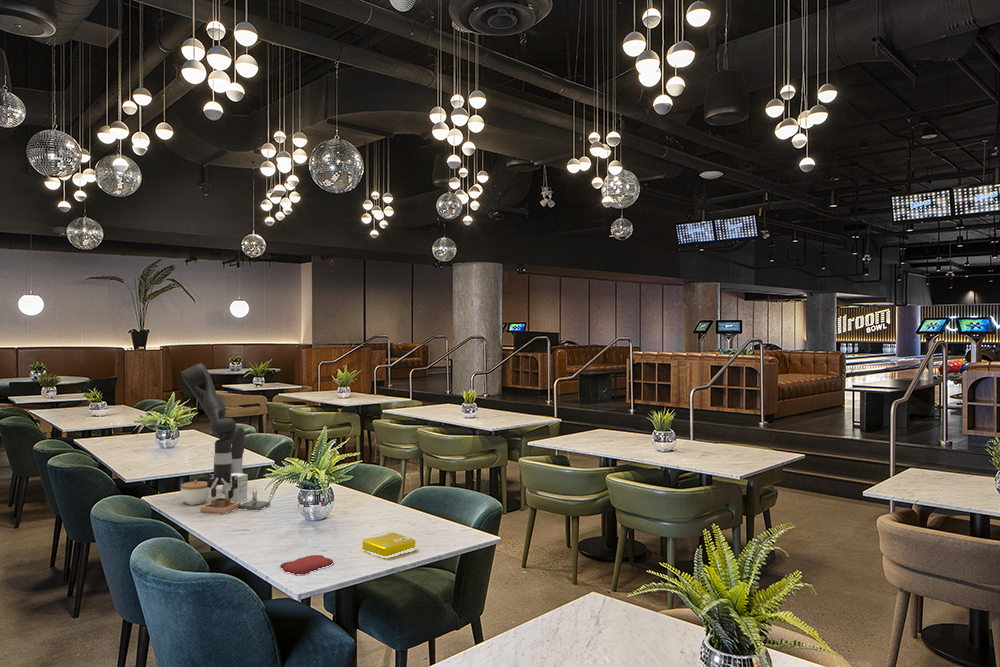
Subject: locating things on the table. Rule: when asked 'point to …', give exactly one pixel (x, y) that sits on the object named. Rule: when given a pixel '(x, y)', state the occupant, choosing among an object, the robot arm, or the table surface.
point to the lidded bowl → (194, 492)
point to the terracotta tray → (210, 509)
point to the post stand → (254, 503)
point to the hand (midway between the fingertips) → (222, 497)
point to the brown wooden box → (220, 502)
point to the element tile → (388, 544)
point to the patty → (306, 564)
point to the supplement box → (239, 488)
